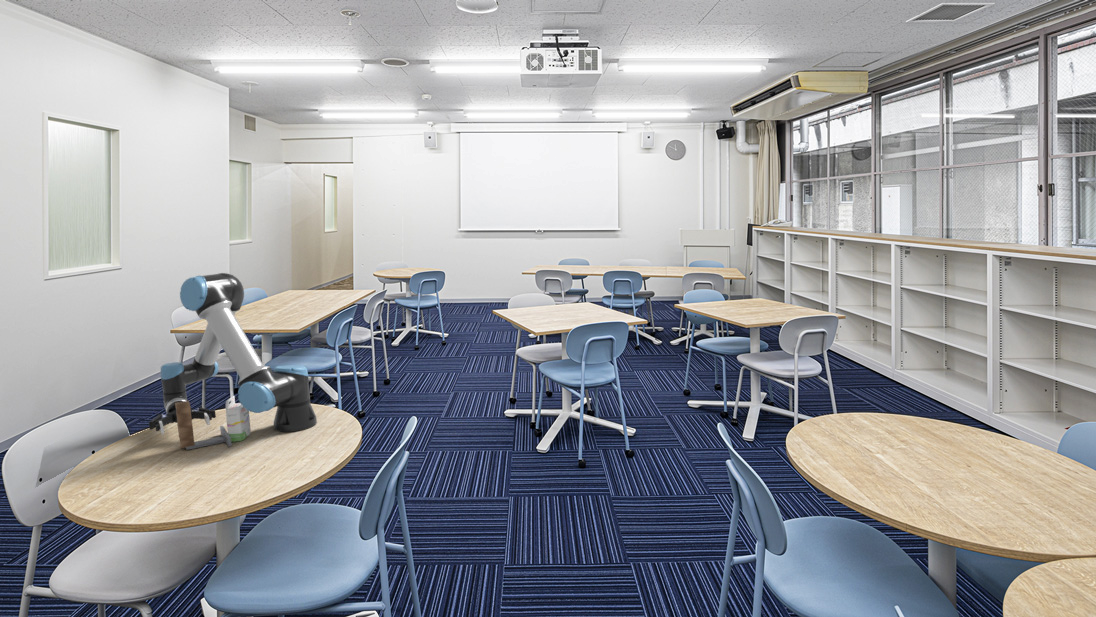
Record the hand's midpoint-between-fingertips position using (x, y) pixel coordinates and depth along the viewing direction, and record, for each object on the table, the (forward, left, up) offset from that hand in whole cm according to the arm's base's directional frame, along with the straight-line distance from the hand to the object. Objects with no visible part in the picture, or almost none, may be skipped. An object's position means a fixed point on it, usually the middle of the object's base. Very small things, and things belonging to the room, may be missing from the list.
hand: (185, 425), depth 211 cm
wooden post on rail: (-5, -3, -9) cm, 11 cm away
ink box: (-17, -3, -9) cm, 19 cm away
